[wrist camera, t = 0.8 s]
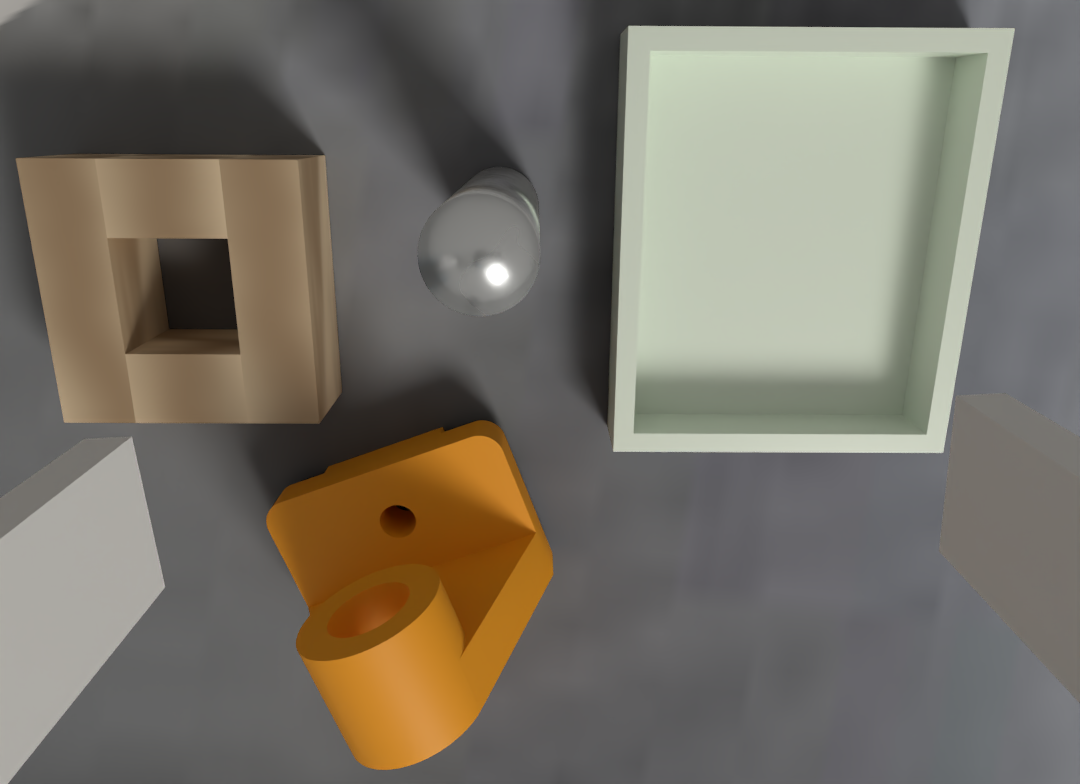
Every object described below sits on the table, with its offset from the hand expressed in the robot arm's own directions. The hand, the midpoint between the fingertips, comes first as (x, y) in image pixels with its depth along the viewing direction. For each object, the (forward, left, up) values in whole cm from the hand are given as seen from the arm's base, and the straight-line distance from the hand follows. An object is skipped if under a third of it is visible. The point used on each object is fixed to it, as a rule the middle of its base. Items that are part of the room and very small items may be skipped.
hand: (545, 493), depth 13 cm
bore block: (-14, -1, -22) cm, 26 cm away
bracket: (-6, -12, -23) cm, 26 cm away
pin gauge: (-2, +2, -23) cm, 23 cm away
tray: (+10, +1, -22) cm, 25 cm away
